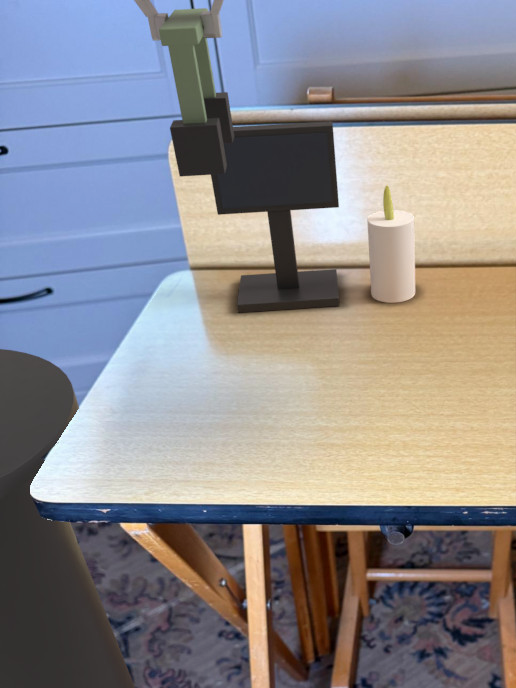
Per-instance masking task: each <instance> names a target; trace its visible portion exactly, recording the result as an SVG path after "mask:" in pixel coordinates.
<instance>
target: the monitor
mask: <svg viewBox="0 0 516 688" xmlns="http://www.w3.org/2000/svg"><path fill="white" fill-rule="evenodd" d="M233 131H234V139H233V143H228V144H224V151H225V157H226V163H227V167H226V171H225V174H215V175H210V179H211V183H212V184H211V185H212V189H213V196H214V201H215V207H216V213H217V215H218V216H219V215H220V216H221V215H233V214H234V215H235V214H249V213H250V214H252V213H267V219H268V227H269V235H270V241H271V249H272V257H273V263H274V264H273V265H274V272H271V273H255V274H243V275H242V274H241V275H240V279H239V288H238V294H237V295H238V296H237V301H236V307H237V312H238V313H239V314H241V313H255V312H269V311H270V312H271V311H286V310H299V309H300V310H301V309H313V308H330V307H340V294H339V283H338V272H337V268H333V269H316V270H303V271H299V270H298V263H297V254H296V245H295V236H294V227H293V220H292V211H302V210H318V209H334V208H335V209H336V208H337V209H338V208H340V202H339V201H340V200H339V189H338V177H337V174H338V173H337V161H336V149H335V136H334V124H333V121H330V120H329V121H314V122H313V121H312V122H295V123H293V122H292V123H278V124H261V125H243V126H241V125H240V126H233Z"/></svg>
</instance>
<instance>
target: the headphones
mask: <svg viewBox="0 0 516 688" xmlns="http://www.w3.org/2000/svg"><path fill="white" fill-rule="evenodd" d="M204 11H209V9H208V7H203V8H183V9H182V8H181V9H174V10H173V11H172V12H171V14H170V15H168V17H169V18H168V19H167V20H166V21H165V22H164V24H163V25H162V26H161V27H160V29H159V34H160V39H161V40H160V44H161V47H167V48H168V53H169V58H170V64H171V68H172V74H173V79H174V84H175V89H176V90H175V91H176V94H177V99H178V105H179V111H180V116H181V119H175V120H172V123H170V124H171V125H170V127H169V131H170V136H171V140H172V145H173V150H174V156H175V160H176V165H177V170H178V175H179V177H181V178H182V177H194V176H195V177H196V176H211V175H215V174H225V171H226V167H227V163H226V157H225V151H224V144H228V143H233V139H234V131H233V127H234V125H233V119H232V111H231V106H230V100H229V99H230V98H229V92H228V91H223V92H216V86H215V78H214V74H213V73H214V72H213V67H212V61H211V55H210V48H209V41H208V38H204V33H203V28H204V26H203V25H202V21H201V17H200V14H201V13H202V12H204Z"/></svg>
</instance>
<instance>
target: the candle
mask: <svg viewBox="0 0 516 688" xmlns="http://www.w3.org/2000/svg"><path fill="white" fill-rule="evenodd" d="M391 193H392V192H391V189H390V186H389V185H385V187H384V190H383V194H382V195H383V196H382V197H383V198H382V201H383V202H382V203H383V210H380V211H376V212H374V213H371V214H370V215H368V216H367V220H366V221H367V223H366V224H367V239H368V240H367V241H368V242H367V243H368V257H369V277H370V295H371V297H372V298H373V299H374V300H376V301H377V302H382V303H387V304H388V303H389V304H390V303H391V304H395V303H401V302H405V301H408V300H411V299H413V297H415V295H416V247H415V245H416V244H415V242H416V241H415V239H416V238H415V216H414V214H413V213H411V212H409V211H405V210H399V209H394V204H393V199H392V194H391Z"/></svg>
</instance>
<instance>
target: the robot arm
mask: <svg viewBox="0 0 516 688" xmlns="http://www.w3.org/2000/svg"><path fill="white" fill-rule="evenodd" d="M133 1H134V3H135V4H136V5H137V7H138V8H139V10H141V12H142V13H143V15H144V16H145V17H146V18H147V21H148V26H149V31H150V36H151V40H152V41H154V42H156V41H158V42H159V41H161V39H160V34H159V29H160V27H161V26H162V25H163V24H164V22H165V21H166V20H167V19H168V18H169V13H168V12H161V13H159V12H158V10H157V9H156V7H155V6H154V5H153V3H152V1H151V0H133ZM224 1H225V0H213V1H212V4H211V8H210V10H208V11H204V12H202V13H201V14H200V17H201V21H202V25H203V26H204V28H203V33H204V38H207V39H220V38H222V37H223V29H222V27H223V26H222V22H221V21H222V20H221V15H220V14H221V13H220V12H221V10H222V8H223V5H224Z"/></svg>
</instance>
